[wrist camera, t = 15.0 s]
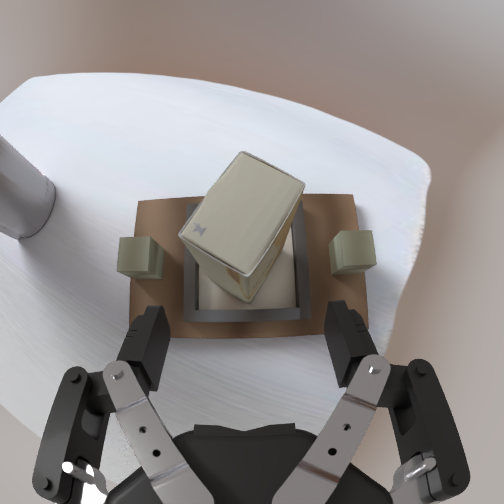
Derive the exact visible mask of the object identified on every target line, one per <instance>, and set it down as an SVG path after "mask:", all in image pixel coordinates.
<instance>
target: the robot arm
mask: <svg viewBox="0 0 504 504" xmlns="http://www.w3.org/2000/svg"><path fill="white" fill-rule="evenodd" d="M54 200H55V188H54V185H53V183H52V182H51V181H50V180H49V179H48V178H47V177H46V176H45V175H44V174H42V173H41V172H40V171H39V170H38V169H37V168H36V167H34V166H33V165H32V164H31V163H30V162H29V161H28V160H27V159H26V158H25V157H23V156H22V155H21V154H20V153H19V152H18V151H17V150H16V149H15V148H14V147H13V146H12V145H11V144H10V143H9V142H7V141H6V140H5V139H4V138H3V137H2V136H1V135H0V232H2V233H4V234H6V235H8V236H10V237H12V238H14V239H16V240H18V239H19V238H21V237H30V236H32V235H34V234H35V233H37V232H38V231H39V230H40V229H41V228H42V226H43V225H44V224H45V222H46V221H47V219H48V217H49V215H50V213H51V210H52V208H53V204H54ZM324 334H325V338H326V342H327V345H328V349H329V352H330V356H331V359H332V363H333V367H334V370H335V374H336V378H337V382H338V385H339V388H342V387H347V390H346V392H345V394H344V395H343V396H342V398H341V399H340V401H339V403H338V405H337V406H336V408H335V410H334V412H333V413H332V415H331V417H330V418H329V420H328V421H327V423H326V425H325V426H324V428H323V429H322V431H321V433H320V434H319V436H316V435H315V434H312V433H310V432H307V431H304V430H300V429H295V423H289V424H276V425H268V426H264V427H260V428H256V429H252V430H248V431H240V430H235V429H231V428H227V427H222V426H217V425H196V424H194V430H193V431H188V432H185V433H182V434H180V435H178V436H176V437H174V438H173V437H172V435H171V434H170V432H169V431H168V429H167V428H166V426H165V425H164V423H163V422H162V420H161V418H160V417H159V415H158V413H157V412H156V410H155V408H154V407H153V405H152V403H151V401H150V400H149V398H148V395H149V391H157V390H158V386H159V381H160V377H161V373H162V369H163V365H164V361H165V357H166V353H167V349H168V345H169V341H170V335H171V332H170V326H169V323H168V320H167V316H166V313H165V309H164V307H163V306H162V305H148V306H147V307H146V310H145V312H144V315H138V316H137V317H136V318H135V319H134V320H133V321H132V323H131V325H130V328H129V331H128V332H127V335H126V338H125V340H124V342H123V344H122V347H121V349H120V352H119V355H118V357H117V360H116V361H114V362H111V363H110V364H108V365H107V366H106V367H105V369H104V371H100V372H94V373H87V371H86V370H85V369H84V368H82V367H79V366H76V367H72V368H70V369H69V370H67V372H66V373H65V374H64V376H63V379H62V381H61V384H60V386H59V389H58V392H57V394H56V397H55V400H54V403H53V406H52V408H51V411H50V414H49V417H48V420H47V424H46V427H45V430H44V433H43V437H42V440H41V444H40V448H39V452H38V456H37V459H36V464H35V468H34V473H33V478H32V483H33V487H34V489H35V491H36V492H37V494H39V495H40V496H41V497H43V498H45V499H47V500H50V501H52V502H54V503H55V504H437V503H440V502H442V501H445V500H447V499H450V498H452V497H454V496H456V495H459V494H460V493H462V492H463V491H464V490H465V489H466V488H467V486H468V484H469V481H470V471H469V467H468V464H467V460H466V456H465V453H464V449H463V446H462V443H461V440H460V436H459V433H458V430H457V428H456V425H455V422H454V419H453V416H452V413H451V411H450V408H449V405H448V403H447V400H446V397H445V395H444V392H443V390H442V388H441V385H440V383H439V380H438V378H437V376H436V373H435V371H434V369H433V367H432V365H431V364H430V363H429V362H427V361H426V360H423V359H415V360H412V361H411V362H410V363H409V365H408V366H400V365H392V364H389V362H388V361H387V360H386V359H385V358H384V357H382V356H380V355H379V354H378V352H377V350H376V348H375V345H374V343H373V341H372V338H371V336H370V334H369V332H368V329H367V327H366V325H365V323H364V320H363V318H362V316H361V315H360V314H359V313H358V312H357V311H356V310H355V309H351V310H349V309H348V307H347V304H346V302H345V300H334V301H329V302H328V306H327V311H326V316H325V322H324ZM377 407H386V408H388V410H389V414H390V417H391V421H392V425H393V429H394V433H395V437H396V442H397V446H398V451H399V455H400V460H401V466H400V467H399V468H398V469H397V470H396V472H395V474H394V478H393V487H392V489H391V491H390V492H388V491H387V490H386V489H385V488H384V487H383V486H381V485H380V484H378V483H377V482H376V481H374V480H373V479H371V478H370V477H369V476H367V475H366V474H365V473H363V472H362V471H361V470H359V469H358V468H357V467H355V466H354V465H353V464H352V463H350V461H351V459H352V457H353V456H354V454H355V452H356V450H357V448H358V446H359V445H360V442H361V441H362V439H363V437H364V434H365V432H366V430H367V429H368V427H369V424H370V422H371V420H372V418H373V416H374V413H375V411H376V408H377ZM113 412H115V414H116V417H117V419H118V421H119V423H120V426H121V428H122V430H123V432H124V434H125V436H126V438H127V440H128V442H129V444H130V446H131V448H132V450H133V451H134V453H135V455H136V457H137V459H138V461H139V462H140V464H141V467H139V468H138V469H137V470H136V471H135V472H133V473H132V474H131V475H130V476H129V477H127V478H126V479H125V480H124V481H122V482H121V483H120V484H119V485H117V486H116V487H115V488H114V489H112V490H111V491H110V492H109V493H108V491H107V489H106V480H105V477H104V475H103V474H102V473H101V472H100V471H99V468H100V462H101V456H102V450H103V445H104V440H105V435H106V430H107V426H108V421H109V417H110V413H113Z"/></svg>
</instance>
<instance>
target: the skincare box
mask: <svg viewBox="0 0 504 504" xmlns="http://www.w3.org/2000/svg"><path fill="white" fill-rule="evenodd" d="M304 188H305V183H304V182H302V181H300V180H298V179H297V178H295V177H293V176H291V175H290V174H288V173H286V172H284V171H283V170H281V169H279V168H277V167H275V166H273V165H271V164H269V163H268V162H266V161H264V160H262V159H260V158H258V157H256V156H254V155H252V154H250V153H248V152H245V151H241V152H239V153H238V155H237V156H236V157H235V158H234V160H233V161H232V162H231V163H230V165H229V166H228V167H227V168H226V170H225V171H224V172H223V173H222V175H221V176H220V177H219V179H218V180H217V181H216V182H215V183H214V185H213V186H212V187H211V188H210V190H209V191H208V193H207V194H206V196H205V197H204V199H203V200H202V201H201V203H200V204H199V205H198V207H197V208H196V209H195V211H194V212H193V214H192V215H191V217H190V218H189V219H188V221H187V222H186V224H185V225H184V226H183V228H182V229H181V231H180V232H179V234H178V236H179V237H180V239H181V240H182V242H183V243H184V244H185V246H186V247H187V248H188V250H189V251H190V253H191V254H192V255H193V257H194V258H195V260H196V261H197V263H198V264H199V265H200V267H201V268H202V269H203V271H204V272H205V273H206V275H207V276H208V278H209V279H210V280H211V281H212V282H213V283H215V284H216V285H218V286H219V287H221V288H222V289H224V290H225V291H227V292H228V293H230V294H232V295H233V296H235V297H237V298H238V299H240V300H242V301H244V302H246V303H247V304H249V303H251V301H252V300H253V298H254V297H255V295H256V294H257V292H258V291H259V289H260V288H261V286H262V285H263V283H264V281H265V280H266V278H267V277H268V275H269V273H270V271H271V270H272V268H273V266H274V264H275V263H276V261H277V259H278V257H279V255H280V253H281V252H282V250H283V247H284V244H285V241H286V238H287V235H288V233H289V230H290V227H291V224H292V222H293V219H294V216H295V213H296V210H297V208H298V205H299V202H300V199H301V196H302V193H303V190H304Z"/></svg>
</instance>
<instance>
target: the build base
mask: <svg viewBox="0 0 504 504" xmlns="http://www.w3.org/2000/svg"><path fill="white" fill-rule="evenodd" d="M204 197H205V196H200V197H184V198H169V199H156V200H145V201H138V207H137V215H136V223H135V232H134V237H124V238H120V242H119V252H118V263H117V272H120V273H122V274H124V275H126V276H128V277H131V282H130V310H129V328H130V325H131V323H132V321H133V320H134V319H135V318H136V317H137V316H138V315H144V312H145V310H146V307H147V306H148V305H162V306H163V307H164V309H165V313H166V316H167V320H168V323H169V326H170V332H171V335H170V337H173V338H268V337H288V336H304V335H317V334H324V322H325V316H326V311H327V306H328V302H329V301H334V300H345V302H346V304H347V307H348V309H349V310H351V309H355V310H356V311H357V312H358V313H359V314H360V315H361V316H362V318H363V320H364V323H365V325H366V327H367V329H369V326H368V309H367V295H366V284H365V274H364V271H365V270H367V269H369V268H371V267H372V266H374V265H376V264H377V263H376V256H375V248H374V241H373V235H372V230H362V231H359V227H358V221H357V215H356V209H355V203H354V198H353V195H351V194H302V196H301V199H300V202H299V205H298V208H297V210H296V213H295V216H294V219H293V222H292V224H291V227H290V230H289V233H288V235H287V238H286V241H285V244H284V247H283V250H282V252H281V253H280V255H279V257H278V259H277V261H276V263H275V264H274V266H273V268H272V270H271V271H270V273H269V275H268V277H267V278H266V280H265V281H264V283H263V285H262V286H261V288H260V289H259V291H258V292H257V294H256V295H255V297H254V298H253V300H252V301H251V303H249V304H247V303H246V302H244V301H242V300H240V299H238V298H237V297H235V296H233V295H232V294H230V293H228V292H227V291H225V290H224V289H222V288H221V287H219V286H218V285H216V284H215V283H213V282H212V281H211V280H210V279H209V278H208V276H207V275H206V273H205V272H204V271H203V269H202V268H201V267H200V265H199V264H198V263H197V261H196V260H195V258H194V257H193V255H192V254H191V253H190V251H189V250H188V248H187V247H186V246H185V244H184V243H183V242H182V240H181V239H180V237H179V236H178V234H179V232H180V231H181V229H182V228H183V226H184V225H185V224H186V222H187V221H188V219H189V218H190V217H191V215H192V214H193V212H194V211H195V209H196V208H197V207H198V205H199V204H200V203H201V201H202V200H203V199H204Z"/></svg>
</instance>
